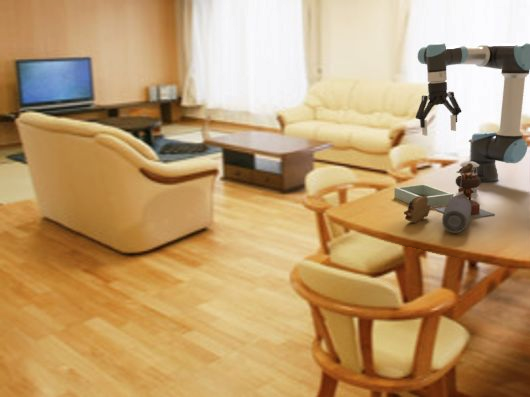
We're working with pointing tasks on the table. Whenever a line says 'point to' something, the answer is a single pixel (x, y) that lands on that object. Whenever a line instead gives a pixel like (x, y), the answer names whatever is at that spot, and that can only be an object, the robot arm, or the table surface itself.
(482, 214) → the slate mat
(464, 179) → the dark brown irregular piece
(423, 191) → the storage box
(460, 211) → the bluetooth speaker
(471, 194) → the french press
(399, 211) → the table surface
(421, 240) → the table surface
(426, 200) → the wooden carving
